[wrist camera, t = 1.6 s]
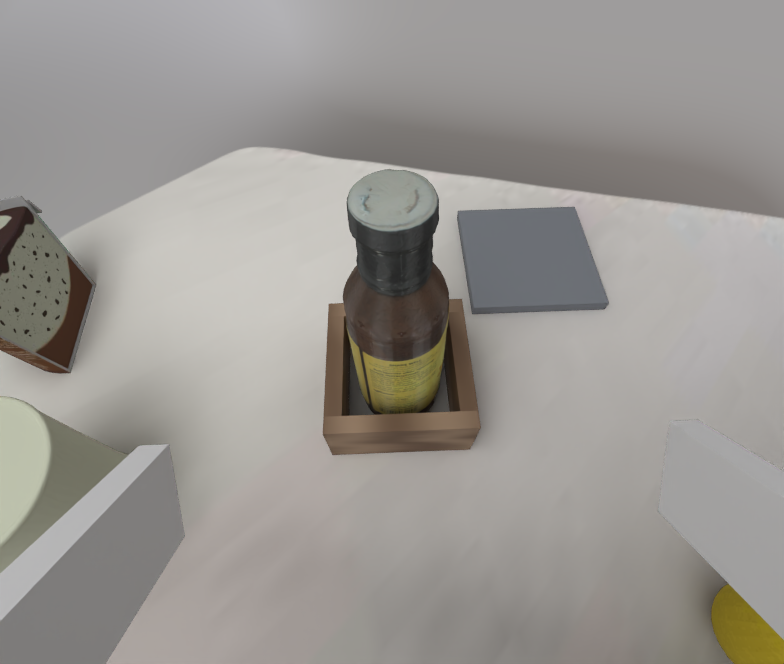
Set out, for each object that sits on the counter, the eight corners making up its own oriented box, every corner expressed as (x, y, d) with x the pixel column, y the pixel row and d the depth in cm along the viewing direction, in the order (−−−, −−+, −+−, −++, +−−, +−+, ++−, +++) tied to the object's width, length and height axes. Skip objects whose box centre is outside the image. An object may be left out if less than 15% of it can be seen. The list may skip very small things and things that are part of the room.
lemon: (673, 575, 28) (761, 569, 22) (760, 580, 28) (876, 577, 21) (699, 681, 26) (809, 715, 19) (796, 688, 25) (943, 724, 19)
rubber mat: (571, 214, 45) (574, 206, 45) (604, 309, 39) (608, 302, 38) (457, 218, 45) (458, 210, 44) (472, 313, 39) (473, 307, 38)
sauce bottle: (452, 390, 35) (505, 202, 18) (397, 442, 33) (398, 285, 16) (398, 341, 38) (399, 134, 21) (343, 387, 36) (294, 198, 19)
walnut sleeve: (454, 331, 38) (461, 298, 34) (469, 449, 33) (480, 428, 29) (336, 336, 38) (328, 303, 34) (332, 454, 33) (322, 434, 28)
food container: (34, 278, 42) (-60, 198, 33) (99, 272, 42) (23, 190, 34) (-12, 397, 35) (-143, 335, 27) (65, 389, 36) (-40, 325, 27)
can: (43, 628, 27) (-171, 651, 17) (8, 505, 31) (-184, 463, 21) (181, 531, 30) (69, 500, 20) (133, 429, 34) (18, 359, 24)
